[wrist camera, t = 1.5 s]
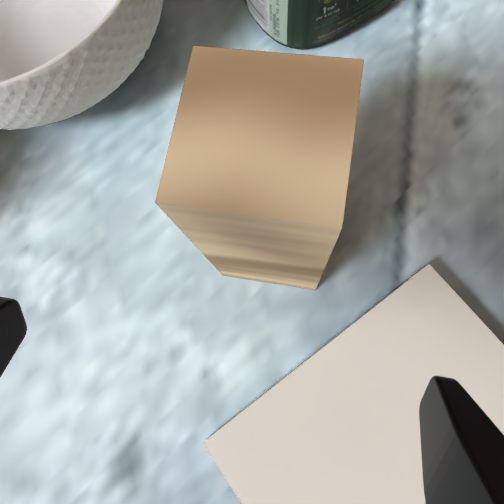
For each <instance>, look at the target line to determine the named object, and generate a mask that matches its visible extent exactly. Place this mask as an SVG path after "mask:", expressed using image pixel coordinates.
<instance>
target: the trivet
mask: <svg viewBox="0 0 504 504" xmlns="http://www.w3.org/2000/svg"><path fill="white" fill-rule="evenodd" d="M433 376H442V377H448V378H453V379H455V380H457V381H458V382H459V383H460V384H461V385H462V387H463V388H464V389H465V390H466V391H467V392H468V394H469V395H470V396H471V397H472V398H473V399H474V401H475V402H476V403H477V404H478V405H479V406H480V408H481V409H482V410H483V411H484V412H485V413H486V415H487V416H488V417H489V418H490V419H491V421H492V422H493V423H494V424H495V425H496V426H497V428H498V429H499V430H500V431H501V432H502V433H503V435H504V344H503V343H502V342H501V341H500V340H499V339H498V338H497V337H496V336H495V335H494V334H493V333H492V331H491V330H490V329H489V328H488V327H487V326H486V325H485V324H484V323H483V322H482V321H481V320H480V318H479V317H478V316H477V315H476V314H475V313H474V312H473V311H472V310H471V309H470V308H469V306H468V305H467V304H466V303H465V302H464V301H463V300H462V299H461V298H460V297H459V296H458V295H457V293H456V292H455V291H454V290H453V289H452V288H451V287H450V286H449V285H448V284H447V283H446V282H445V280H444V279H443V278H442V277H441V276H440V275H439V274H438V273H437V272H436V271H435V270H434V269H433V267H432V266H431V265H430V264H428V265H426V266H425V267H423V268H422V269H421V270H420V271H418V272H417V273H416V274H414V275H413V276H412V277H411V278H409V279H408V280H407V281H406V282H404V283H403V284H402V285H401V286H399V287H398V288H397V289H396V290H394V291H393V292H392V293H390V294H389V295H388V296H387V297H385V298H384V299H383V300H382V301H380V302H379V303H378V304H377V305H375V306H374V307H373V308H372V309H370V310H369V311H368V312H366V313H365V314H364V315H363V316H361V317H360V318H359V319H358V320H356V321H355V322H354V323H353V324H351V325H350V326H349V327H348V328H346V329H345V330H344V331H342V332H341V333H340V334H339V335H337V336H336V337H335V338H334V339H332V340H331V341H330V342H329V343H327V344H326V345H325V346H323V347H322V348H321V349H320V350H318V351H317V352H316V353H315V354H313V355H312V356H311V357H310V358H308V359H307V360H306V361H305V362H303V363H302V364H301V365H299V366H298V367H297V368H296V369H294V370H293V371H292V372H291V373H289V374H288V375H287V376H286V377H284V378H283V379H282V380H281V381H279V382H278V383H277V384H275V385H274V386H273V387H272V388H270V389H269V390H268V391H267V392H265V393H264V394H263V395H262V396H260V397H259V398H258V399H257V400H255V401H254V402H253V403H251V404H250V405H249V406H248V407H246V408H245V409H244V410H243V411H241V412H240V413H239V414H238V415H236V416H235V417H234V418H233V419H231V420H230V421H229V422H227V423H226V424H225V425H224V426H222V427H221V428H220V429H219V430H217V431H216V432H215V433H214V434H212V435H211V436H210V437H209V438H207V439H206V440H205V441H204V442H203V445H204V446H205V448H206V449H207V451H208V453H209V454H210V456H211V457H212V459H213V460H214V462H215V463H216V465H217V466H218V468H219V470H220V471H221V473H222V474H223V476H224V477H225V479H226V480H227V482H228V484H229V485H230V487H231V488H232V490H233V491H234V493H235V494H236V496H237V497H238V499H239V501H240V502H241V504H426V502H425V495H424V486H423V472H422V455H421V438H420V421H419V407H420V402H421V399H422V397H423V395H424V393H425V390H426V388H427V386H428V383H429V381H430V379H431V378H432V377H433Z"/></svg>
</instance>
